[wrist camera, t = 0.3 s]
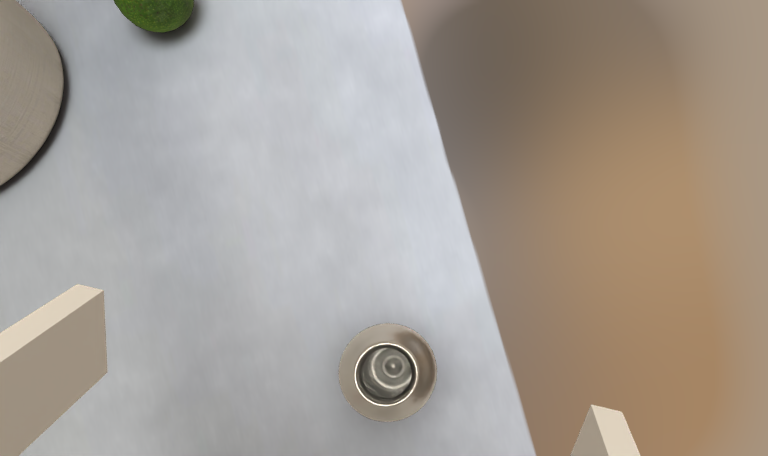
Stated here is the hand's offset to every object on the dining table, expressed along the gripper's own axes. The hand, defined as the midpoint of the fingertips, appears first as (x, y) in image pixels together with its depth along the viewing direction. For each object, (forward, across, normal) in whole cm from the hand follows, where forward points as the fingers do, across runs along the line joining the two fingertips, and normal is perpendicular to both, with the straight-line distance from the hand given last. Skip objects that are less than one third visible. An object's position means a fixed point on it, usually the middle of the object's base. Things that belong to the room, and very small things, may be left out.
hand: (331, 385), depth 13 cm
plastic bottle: (+29, -1, +21) cm, 36 cm away
